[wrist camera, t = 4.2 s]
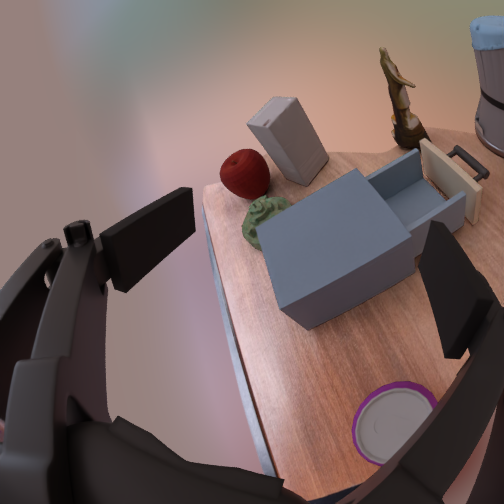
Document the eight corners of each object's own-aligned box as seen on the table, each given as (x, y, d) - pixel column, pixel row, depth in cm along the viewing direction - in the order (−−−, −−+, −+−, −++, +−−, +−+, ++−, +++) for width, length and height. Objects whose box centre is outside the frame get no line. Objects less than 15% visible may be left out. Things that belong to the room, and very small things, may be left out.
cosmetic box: (308, 153, 56) (271, 94, 45) (333, 160, 50) (298, 94, 40) (284, 181, 55) (241, 122, 44) (308, 190, 50) (266, 124, 39)
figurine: (432, 155, 38) (408, 49, 24) (393, 153, 43) (358, 55, 29) (433, 138, 39) (408, 39, 26) (396, 137, 44) (363, 44, 31)
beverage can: (439, 391, 22) (454, 383, 14) (420, 454, 19) (422, 479, 11) (380, 383, 27) (363, 371, 19) (359, 443, 24) (331, 460, 16)
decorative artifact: (280, 257, 45) (308, 209, 47) (258, 234, 41) (290, 183, 43) (240, 243, 52) (267, 202, 54) (218, 222, 48) (248, 178, 50)
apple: (238, 188, 63) (212, 158, 56) (274, 167, 59) (250, 134, 53) (242, 215, 56) (212, 184, 50) (283, 193, 53) (256, 157, 46)
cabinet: (370, 206, 40) (356, 167, 35) (415, 272, 31) (412, 235, 25) (282, 257, 45) (254, 227, 39) (307, 330, 36) (279, 309, 30)
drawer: (449, 158, 35) (446, 125, 30) (498, 205, 26) (504, 171, 22) (353, 215, 40) (340, 186, 36) (392, 278, 32) (385, 251, 27)
